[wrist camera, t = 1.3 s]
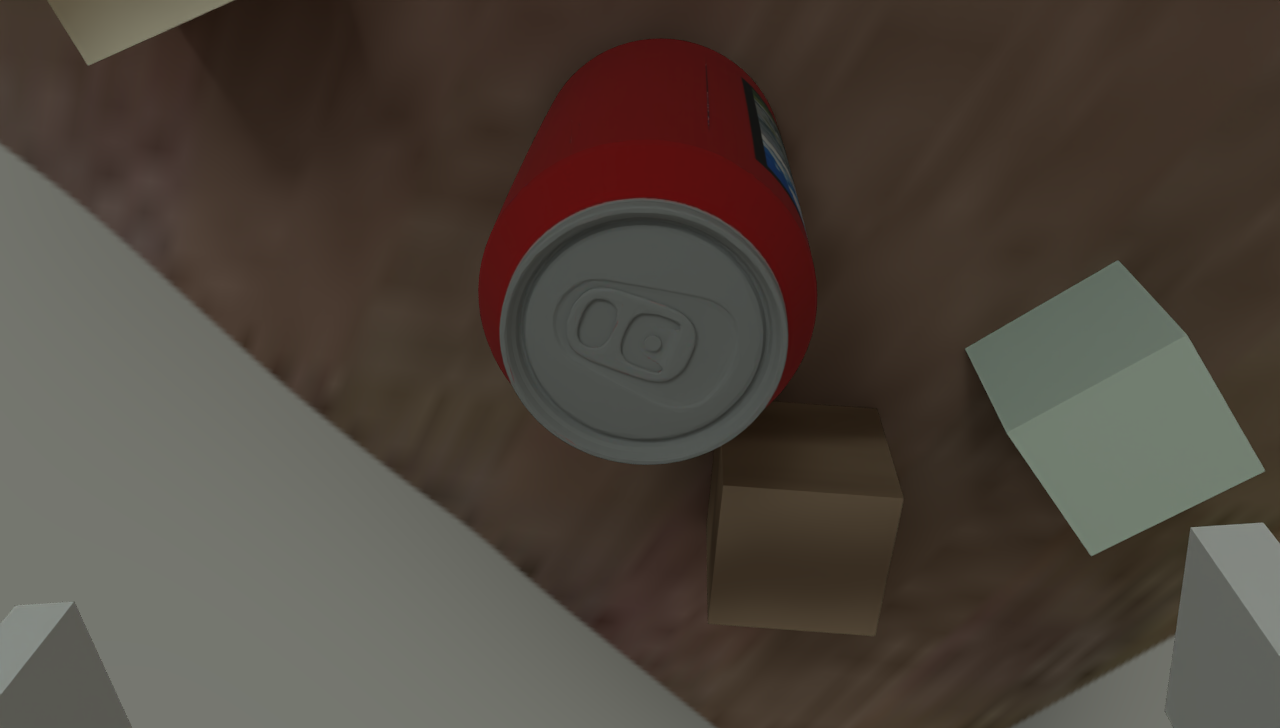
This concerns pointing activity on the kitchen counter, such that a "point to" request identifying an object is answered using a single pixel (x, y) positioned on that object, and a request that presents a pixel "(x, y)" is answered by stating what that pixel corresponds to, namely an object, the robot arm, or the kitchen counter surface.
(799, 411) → the cube walnut
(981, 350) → the cube sage
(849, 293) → the kitchen counter surface
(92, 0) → the cube beech
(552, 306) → the beverage can
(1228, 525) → the robot arm
